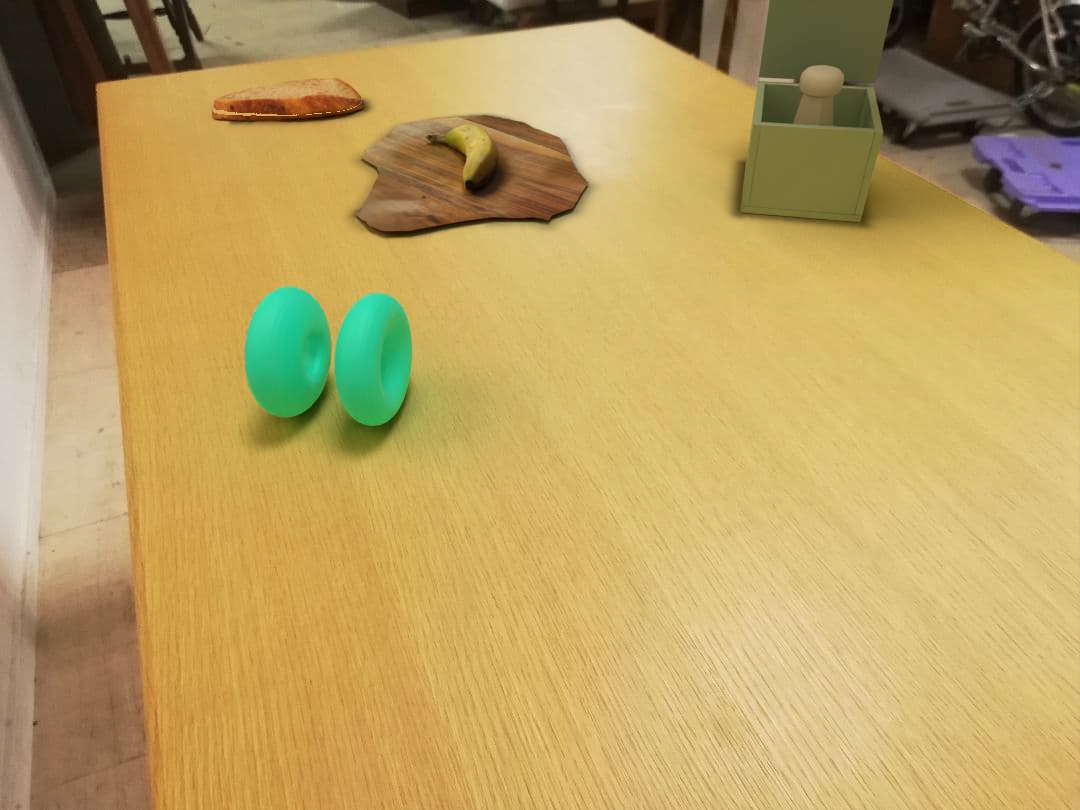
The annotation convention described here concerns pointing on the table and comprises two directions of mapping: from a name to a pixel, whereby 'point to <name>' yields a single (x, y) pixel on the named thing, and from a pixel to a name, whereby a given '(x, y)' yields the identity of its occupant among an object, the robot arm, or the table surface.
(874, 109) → the storage bin
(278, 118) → the bread slice
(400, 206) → the cutting board
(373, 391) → the donuts
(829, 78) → the salt shaker
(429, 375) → the table surface
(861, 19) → the box lid
